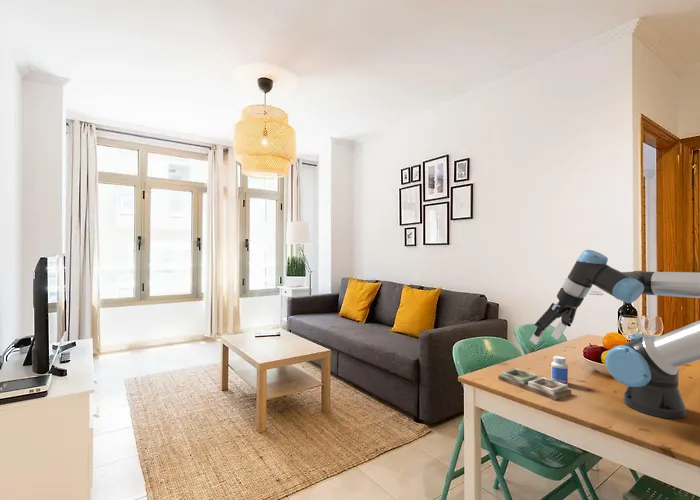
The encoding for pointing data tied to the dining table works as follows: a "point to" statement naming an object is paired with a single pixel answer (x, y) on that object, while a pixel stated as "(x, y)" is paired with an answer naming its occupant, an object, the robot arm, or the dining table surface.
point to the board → (535, 384)
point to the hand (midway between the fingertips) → (544, 339)
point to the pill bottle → (559, 370)
